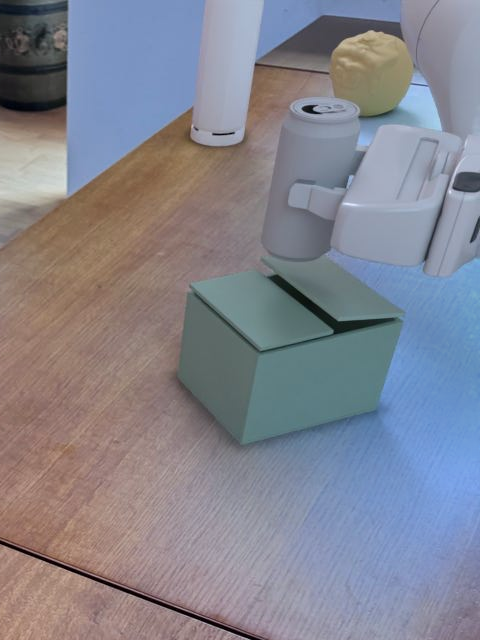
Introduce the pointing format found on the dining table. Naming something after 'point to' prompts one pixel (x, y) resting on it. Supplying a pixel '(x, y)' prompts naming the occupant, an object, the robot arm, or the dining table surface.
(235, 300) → the carton
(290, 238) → the beverage can
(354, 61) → the sculpture
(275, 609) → the dining table surface
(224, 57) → the bottle
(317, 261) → the flap
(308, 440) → the dining table surface
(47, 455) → the dining table surface
